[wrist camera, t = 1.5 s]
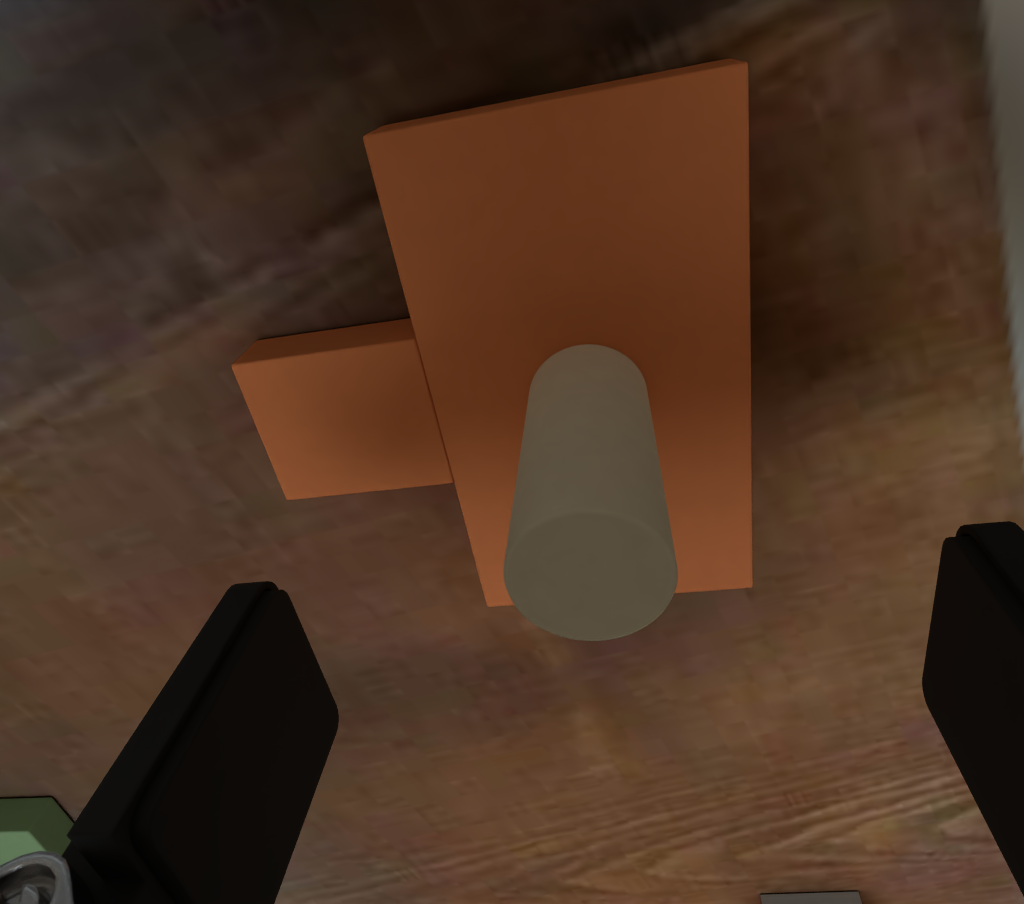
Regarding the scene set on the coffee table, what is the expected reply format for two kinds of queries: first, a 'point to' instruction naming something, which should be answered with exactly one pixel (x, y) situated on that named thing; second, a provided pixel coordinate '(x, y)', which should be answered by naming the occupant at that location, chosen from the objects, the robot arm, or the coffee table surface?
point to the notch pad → (32, 827)
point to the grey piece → (812, 898)
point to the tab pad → (552, 347)
